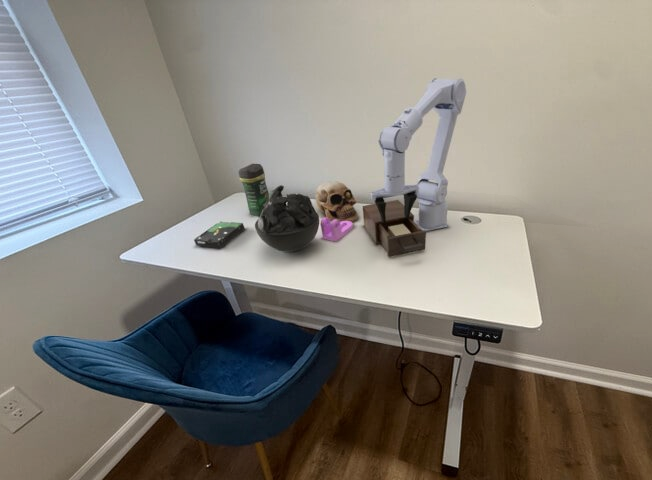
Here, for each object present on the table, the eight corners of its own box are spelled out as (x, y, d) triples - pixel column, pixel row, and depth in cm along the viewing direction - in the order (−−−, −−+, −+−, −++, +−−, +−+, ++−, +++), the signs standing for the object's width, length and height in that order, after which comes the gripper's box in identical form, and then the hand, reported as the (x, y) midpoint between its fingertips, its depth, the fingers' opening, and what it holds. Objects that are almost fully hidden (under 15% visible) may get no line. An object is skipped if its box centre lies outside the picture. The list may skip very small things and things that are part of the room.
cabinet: (413, 236, 109) (414, 215, 104) (376, 244, 106) (374, 222, 101) (398, 220, 120) (398, 199, 115) (364, 226, 117) (362, 205, 112)
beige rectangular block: (402, 234, 106) (403, 223, 104) (411, 245, 100) (412, 233, 98) (388, 237, 105) (387, 226, 102) (396, 248, 99) (396, 236, 97)
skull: (355, 223, 119) (348, 187, 111) (312, 225, 123) (302, 191, 115) (364, 207, 131) (358, 174, 124) (325, 210, 135) (317, 178, 128)
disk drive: (221, 249, 109) (245, 229, 120) (218, 242, 107) (243, 222, 118) (196, 246, 111) (221, 227, 122) (192, 239, 109) (219, 220, 120)
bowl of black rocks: (312, 265, 97) (300, 206, 86) (252, 262, 101) (233, 205, 89) (330, 234, 113) (322, 181, 101) (278, 232, 116) (264, 180, 105)
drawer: (432, 257, 96) (433, 238, 92) (394, 265, 93) (393, 247, 90) (408, 231, 110) (409, 214, 106) (375, 238, 107) (374, 221, 104)
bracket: (336, 241, 109) (333, 222, 104) (322, 238, 111) (319, 220, 107) (355, 225, 117) (354, 207, 113) (343, 223, 120) (340, 205, 115)
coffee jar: (263, 217, 127) (250, 169, 116) (247, 215, 130) (232, 168, 118) (277, 207, 135) (265, 162, 123) (261, 206, 137) (248, 161, 125)
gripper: (412, 166, 95) (411, 210, 103) (366, 173, 92) (369, 217, 100) (422, 173, 89) (420, 218, 98) (373, 181, 86) (375, 227, 95)
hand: (395, 218), depth 98 cm, fingers open, 7 cm apart
